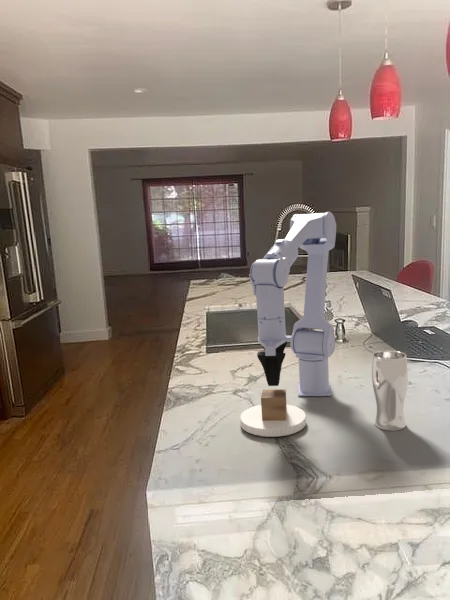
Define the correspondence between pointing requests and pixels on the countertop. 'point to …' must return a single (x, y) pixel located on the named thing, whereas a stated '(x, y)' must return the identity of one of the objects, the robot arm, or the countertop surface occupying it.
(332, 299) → the countertop surface
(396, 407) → the beer glass
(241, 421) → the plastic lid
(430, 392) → the countertop surface
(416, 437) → the countertop surface
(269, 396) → the walnut cube
